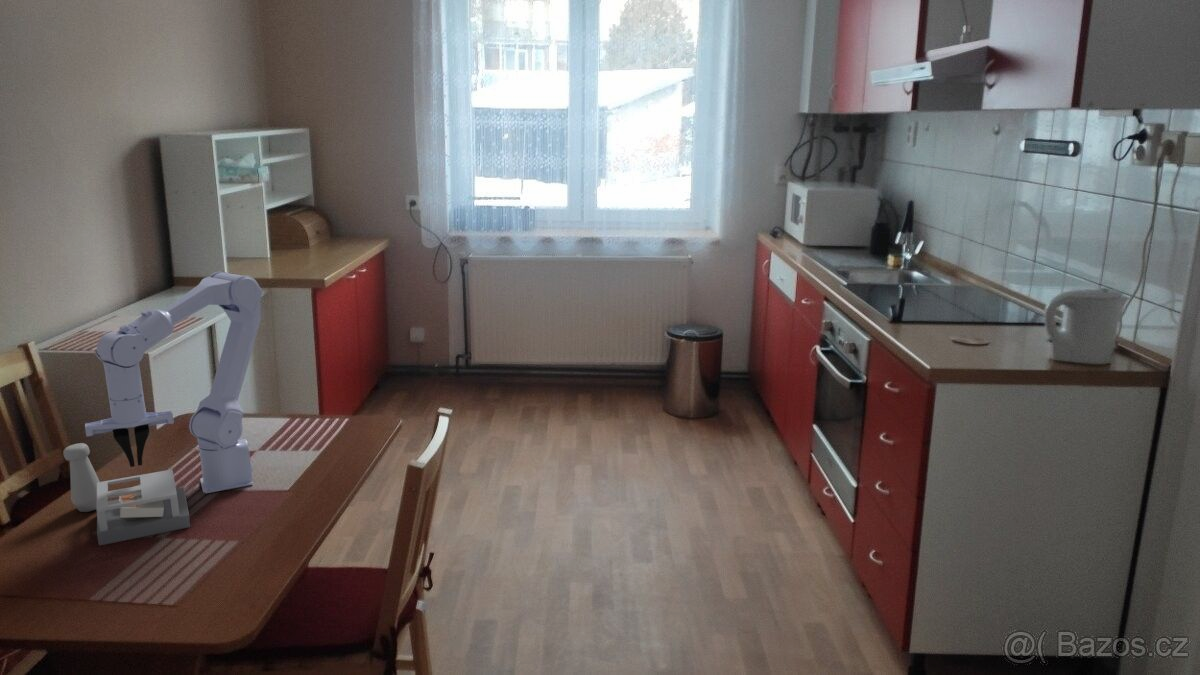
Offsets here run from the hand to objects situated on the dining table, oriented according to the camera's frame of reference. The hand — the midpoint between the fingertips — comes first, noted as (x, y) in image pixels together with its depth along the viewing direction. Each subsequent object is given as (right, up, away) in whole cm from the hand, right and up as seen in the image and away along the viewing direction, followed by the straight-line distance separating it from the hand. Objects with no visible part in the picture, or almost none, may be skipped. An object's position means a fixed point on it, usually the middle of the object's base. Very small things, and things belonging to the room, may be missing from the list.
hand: (136, 464), depth 167 cm
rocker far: (0, -6, +2) cm, 6 cm away
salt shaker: (-12, -9, +5) cm, 16 cm away
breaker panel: (+1, -11, 0) cm, 11 cm away
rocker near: (+3, -7, -4) cm, 9 cm away
